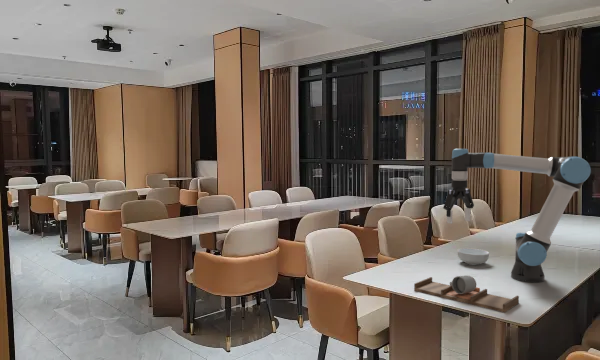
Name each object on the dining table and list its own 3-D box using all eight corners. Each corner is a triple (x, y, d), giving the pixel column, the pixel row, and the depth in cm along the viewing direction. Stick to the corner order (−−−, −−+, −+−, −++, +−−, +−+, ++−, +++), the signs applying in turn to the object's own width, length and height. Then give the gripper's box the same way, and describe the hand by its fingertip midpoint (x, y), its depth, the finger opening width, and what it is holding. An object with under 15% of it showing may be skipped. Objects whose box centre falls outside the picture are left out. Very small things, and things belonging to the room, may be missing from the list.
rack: (519, 303, 190) (519, 295, 190) (504, 312, 179) (505, 304, 179) (431, 283, 219) (431, 276, 219) (414, 290, 208) (414, 283, 208)
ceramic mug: (475, 294, 198) (479, 278, 197) (463, 297, 194) (467, 281, 192) (456, 283, 207) (460, 268, 205) (444, 286, 203) (447, 270, 201)
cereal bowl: (467, 267, 248) (468, 255, 247) (451, 260, 264) (451, 248, 264) (495, 266, 251) (495, 253, 251) (477, 259, 267) (477, 247, 267)
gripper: (469, 178, 234) (468, 219, 235) (436, 180, 220) (435, 223, 222) (481, 179, 227) (481, 220, 229) (448, 181, 214) (447, 225, 215)
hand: (458, 222), depth 225 cm, fingers open, 13 cm apart
